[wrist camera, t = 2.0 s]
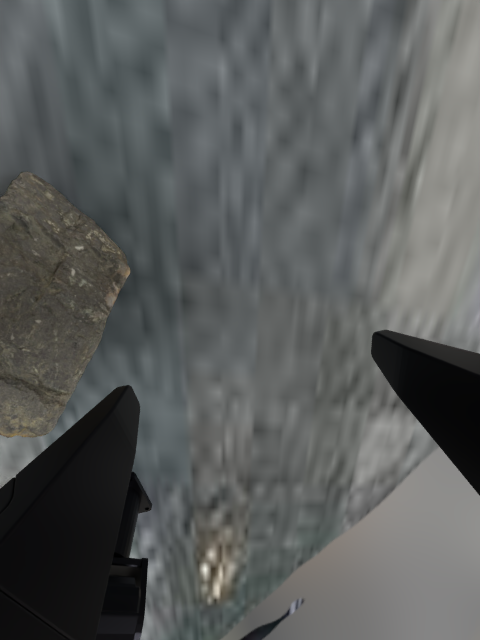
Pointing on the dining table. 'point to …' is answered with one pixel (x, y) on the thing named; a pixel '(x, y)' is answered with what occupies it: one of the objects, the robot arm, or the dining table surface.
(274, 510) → the dining table surface
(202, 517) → the dining table surface
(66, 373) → the rock
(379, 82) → the dining table surface
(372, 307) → the dining table surface
